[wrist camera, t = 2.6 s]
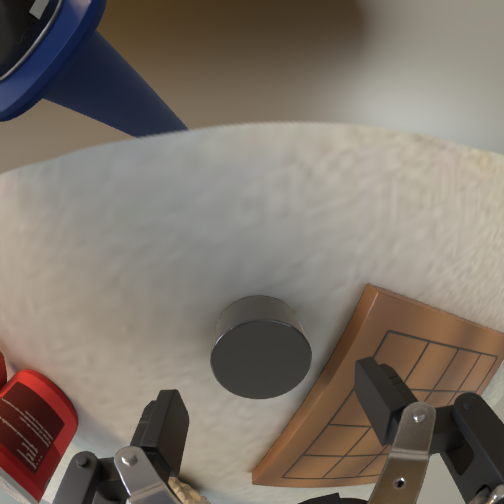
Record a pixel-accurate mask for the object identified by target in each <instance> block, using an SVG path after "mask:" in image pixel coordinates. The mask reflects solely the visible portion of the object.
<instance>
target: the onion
mask: <svg viewBox="0 0 504 504" xmlns="http://www.w3.org/2000/svg"><path fill="white" fill-rule="evenodd" d="M6 383H7V371H6V366H5V361H4V356H3V354H2V353H1V352H0V389H1V388H2V387H3V386H4V385H5V384H6Z"/></svg>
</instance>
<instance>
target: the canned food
mask: <svg viewBox="0 0 504 504" xmlns="http://www.w3.org/2000/svg"><path fill="white" fill-rule="evenodd" d="M77 425H78V418H77V414H76V412H75V409H74V408H73V406H72V404H71V402H70V401H69V400H68V398H67V397H66V396H65V395H64V393H63V392H62V391H61V390H60V389H59V388H58V387H57V386H56V385H55V384H54V383H53V382H51V381H50V380H49V379H48V378H46V377H45V376H43V375H42V374H40V373H38V372H36V371H33V370H29V369H26V370H22V371H19V372H17V373H16V374H15V375H14V376H13V377H12V378H11V379H10V380H9V381H8V382H7V383H6V384H5V385H4V386H3V387H2V388H1V389H0V487H1V488H2V489H3V490H5V491H6V492H7V493H8V494H10V495H11V496H13V497H14V498H15V499H17V500H18V501H20V502H21V503H23V504H39V502H40V500H41V498H42V496H43V494H44V492H45V490H46V488H47V486H48V484H49V482H50V480H51V478H52V476H53V474H54V472H55V470H56V468H57V466H58V464H59V462H60V461H61V459H62V457H63V455H64V453H65V451H66V449H67V447H68V446H69V444H70V442H71V440H72V438H73V437H74V435H75V433H76V431H77Z"/></svg>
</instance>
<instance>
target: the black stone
mask: <svg viewBox="0 0 504 504" xmlns="http://www.w3.org/2000/svg"><path fill="white" fill-rule="evenodd" d="M311 360H312V352H311V347H310V344H309V342H308V340H307V337H306V335H305V332H304V330H303V328H302V326H301V323H300V321H299V319H298V317H297V315H296V313H295V312H294V310H293V309H292V308H291V307H290V306H289V305H287V304H286V303H284V302H283V301H281V300H279V299H276V298H273V297H269V296H250V297H246V298H243V299H240V300H238V301H236V302H234V303H233V304H231V305H230V306H228V307H227V308H226V309H225V310H224V311H223V313H222V314H221V315H220V317H219V319H218V321H217V324H216V328H215V333H214V339H213V345H212V351H211V358H210V363H211V369H212V372H213V374H214V376H215V378H216V379H217V381H218V382H219V383H220V384H221V385H222V386H223V387H224V388H225V389H227V390H228V391H230V392H231V393H233V394H236V395H238V396H241V397H244V398H250V399H268V398H273V397H277V396H280V395H282V394H285V393H287V392H288V391H290V390H292V389H293V388H295V387H296V386H297V385H298V384H299V383H300V382H301V381H302V380H303V379H304V377H305V376H306V374H307V372H308V370H309V368H310V365H311Z"/></svg>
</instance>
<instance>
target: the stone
mask: <svg viewBox="0 0 504 504" xmlns="http://www.w3.org/2000/svg"><path fill="white" fill-rule="evenodd" d="M168 483H169V485H170V486H171V487H172V489H173V490H174V492H175V493H176V494H177V496H178V497H179V498H180V500H181V501H182V502H183V504H210V502H209V501H207V498H206V497H205V496H201V495H200V493H199V492H198V491H196V490H194V489H192V488H191V487H190V486H189V485H188V484H184V483H182V482H181V481H179V479H178V478H176V477H169V481H168ZM126 504H129V501H128V499H127V502H126Z"/></svg>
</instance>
